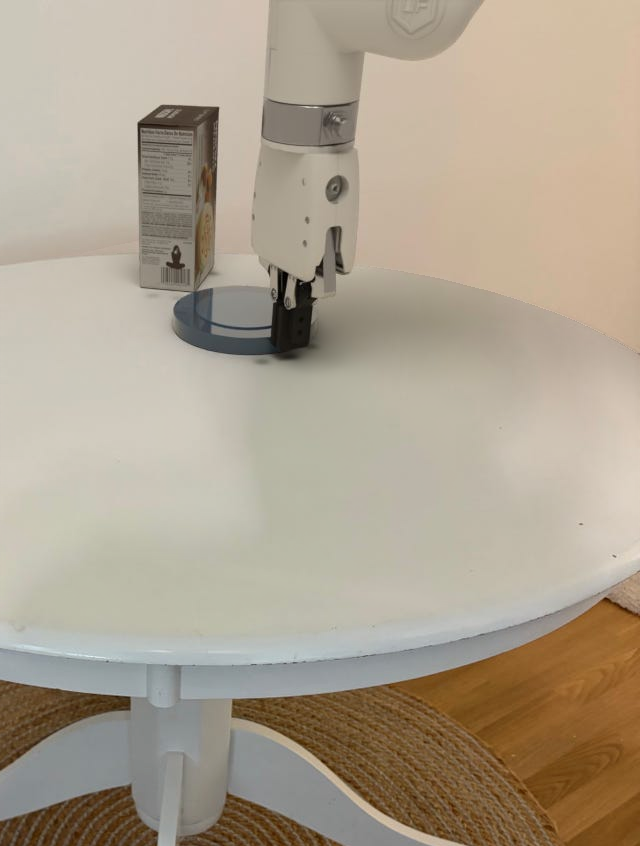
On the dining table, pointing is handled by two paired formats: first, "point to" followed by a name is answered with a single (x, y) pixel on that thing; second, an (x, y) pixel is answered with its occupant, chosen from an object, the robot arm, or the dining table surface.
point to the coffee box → (177, 195)
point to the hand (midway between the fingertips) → (289, 345)
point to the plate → (229, 319)
